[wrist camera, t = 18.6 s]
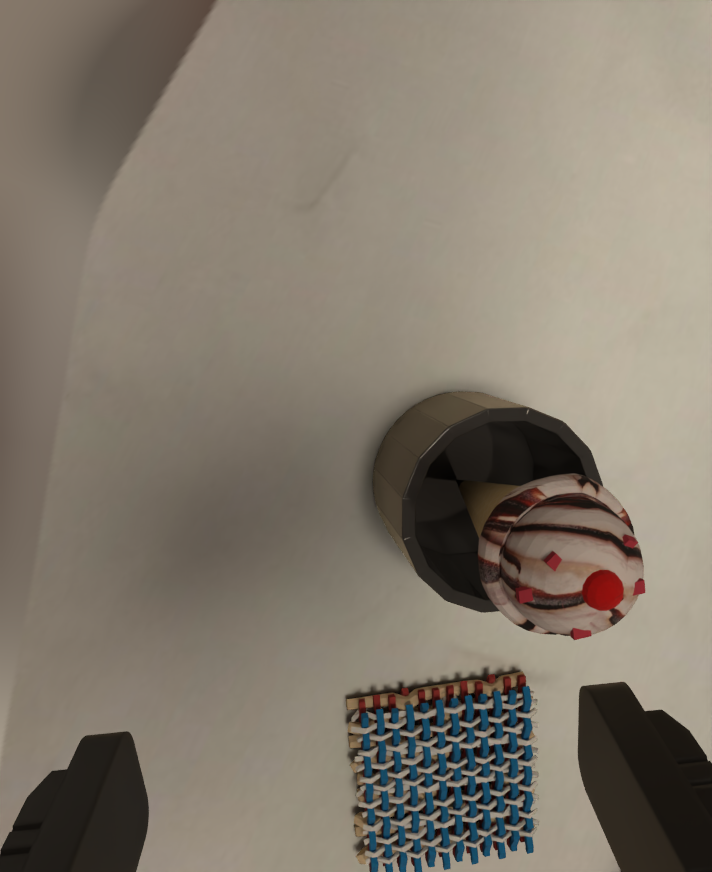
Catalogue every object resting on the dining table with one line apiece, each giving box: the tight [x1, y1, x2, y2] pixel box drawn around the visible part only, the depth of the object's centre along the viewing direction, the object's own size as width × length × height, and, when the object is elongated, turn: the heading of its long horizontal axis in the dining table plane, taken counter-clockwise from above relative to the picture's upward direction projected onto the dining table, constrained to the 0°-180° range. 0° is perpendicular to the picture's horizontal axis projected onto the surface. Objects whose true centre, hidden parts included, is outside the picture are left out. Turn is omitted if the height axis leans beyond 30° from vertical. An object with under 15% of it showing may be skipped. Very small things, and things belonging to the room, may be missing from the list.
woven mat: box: [346, 672, 539, 872], centre depth 37 cm, size 10×11×2 cm
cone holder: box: [373, 391, 603, 612], centre depth 32 cm, size 9×9×6 cm
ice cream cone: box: [456, 473, 645, 640], centre depth 27 cm, size 6×6×15 cm
